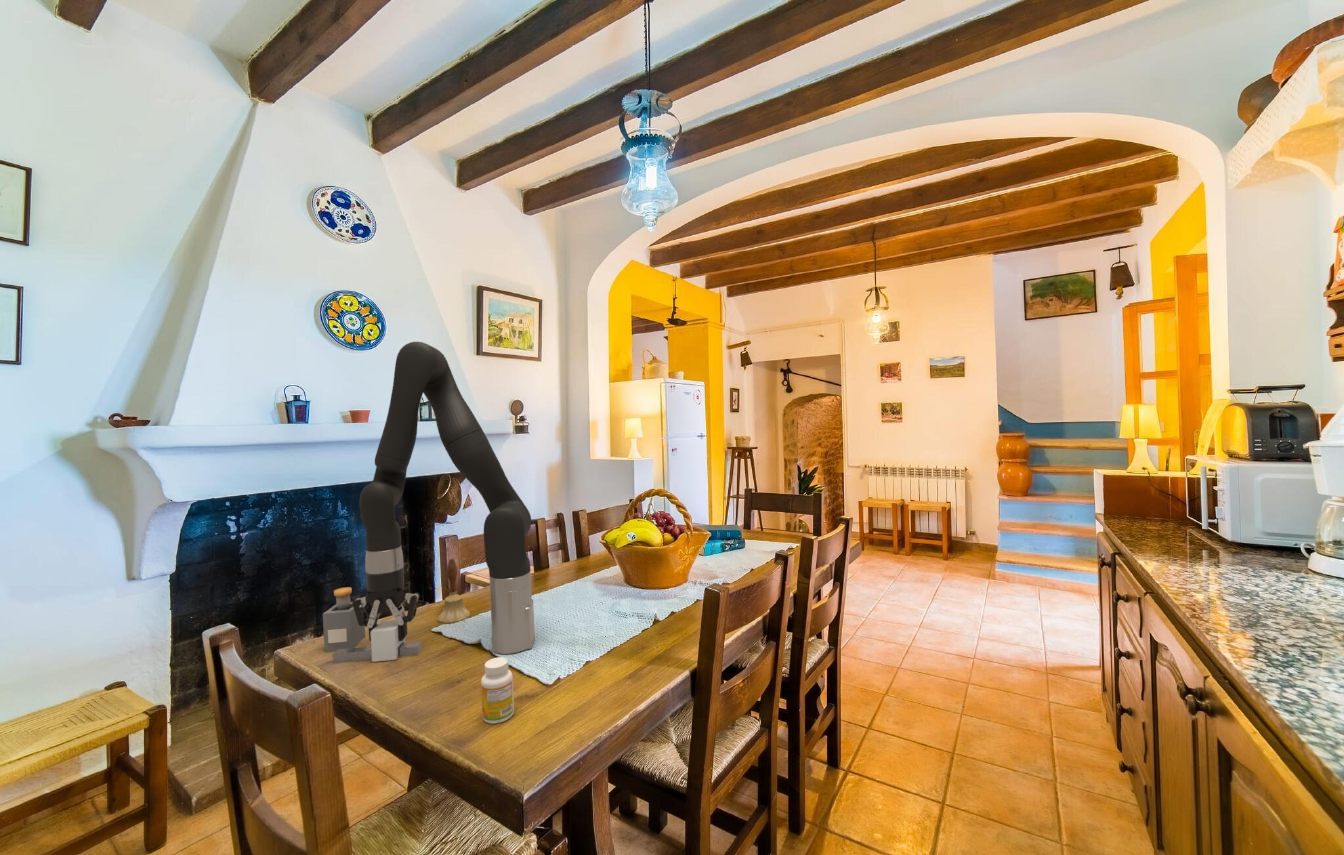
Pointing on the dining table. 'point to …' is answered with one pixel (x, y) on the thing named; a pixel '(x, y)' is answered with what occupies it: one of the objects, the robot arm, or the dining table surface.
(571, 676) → the dining table surface
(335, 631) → the grey square housing
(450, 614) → the hand bell
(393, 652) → the carriage
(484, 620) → the dining table surface
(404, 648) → the rail
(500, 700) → the supplement bottle
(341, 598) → the ball
